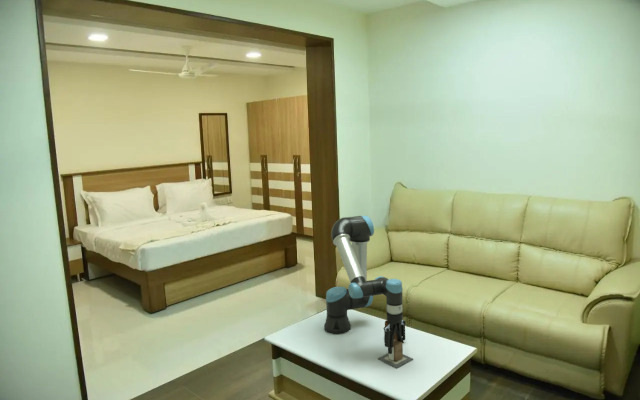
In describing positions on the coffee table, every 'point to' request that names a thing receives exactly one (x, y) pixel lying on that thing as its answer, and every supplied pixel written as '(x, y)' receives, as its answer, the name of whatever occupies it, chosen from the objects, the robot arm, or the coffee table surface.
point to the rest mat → (395, 363)
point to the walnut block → (397, 350)
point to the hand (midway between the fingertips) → (395, 357)
